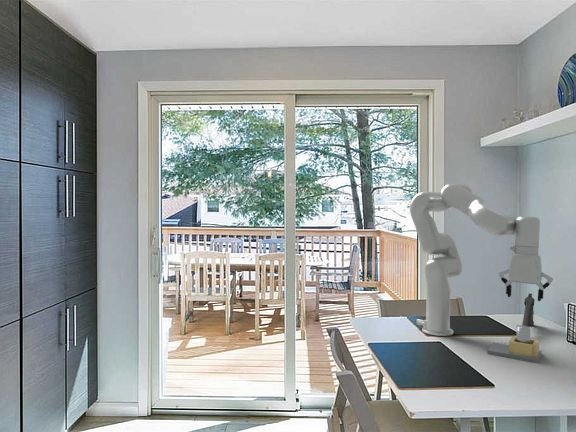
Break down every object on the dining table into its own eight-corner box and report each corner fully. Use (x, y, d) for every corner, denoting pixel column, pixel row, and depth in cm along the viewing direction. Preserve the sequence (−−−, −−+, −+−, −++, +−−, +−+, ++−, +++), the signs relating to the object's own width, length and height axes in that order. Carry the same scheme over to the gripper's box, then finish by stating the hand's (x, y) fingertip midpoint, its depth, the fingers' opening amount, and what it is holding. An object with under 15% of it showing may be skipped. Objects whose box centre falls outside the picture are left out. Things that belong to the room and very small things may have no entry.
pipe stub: (515, 352, 160) (515, 327, 160) (517, 349, 163) (517, 324, 163) (529, 354, 157) (529, 329, 157) (530, 351, 161) (531, 326, 161)
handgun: (529, 364, 180) (529, 333, 175) (519, 362, 182) (518, 331, 177) (535, 322, 204) (535, 293, 199) (525, 320, 206) (525, 292, 201)
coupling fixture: (487, 353, 162) (487, 339, 162) (494, 345, 171) (494, 332, 171) (537, 362, 152) (538, 347, 152) (541, 353, 162) (542, 339, 162)
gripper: (498, 249, 162) (495, 296, 162) (553, 254, 152) (550, 304, 152) (501, 248, 168) (499, 293, 168) (555, 252, 158) (552, 300, 158)
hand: (524, 298), depth 160 cm, fingers open, 9 cm apart
